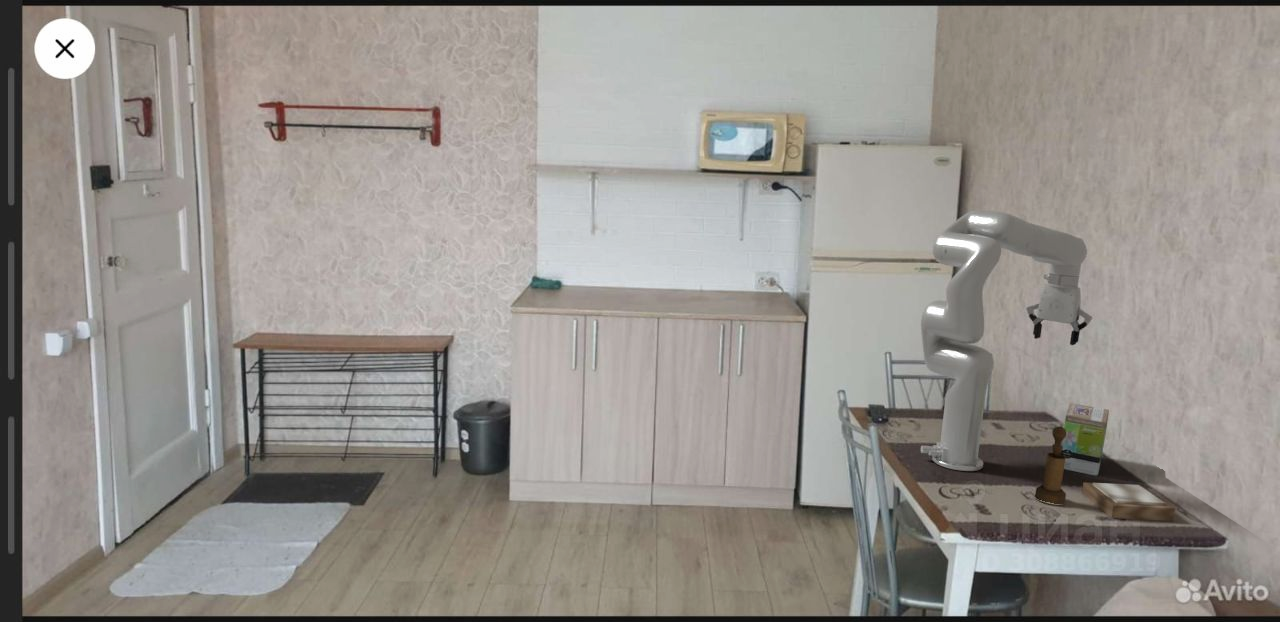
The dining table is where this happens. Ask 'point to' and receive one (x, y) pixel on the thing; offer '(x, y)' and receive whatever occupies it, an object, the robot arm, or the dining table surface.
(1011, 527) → the dining table surface
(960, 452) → the robot arm
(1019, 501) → the dining table surface
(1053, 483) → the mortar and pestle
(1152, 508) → the plinth
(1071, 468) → the tea box
